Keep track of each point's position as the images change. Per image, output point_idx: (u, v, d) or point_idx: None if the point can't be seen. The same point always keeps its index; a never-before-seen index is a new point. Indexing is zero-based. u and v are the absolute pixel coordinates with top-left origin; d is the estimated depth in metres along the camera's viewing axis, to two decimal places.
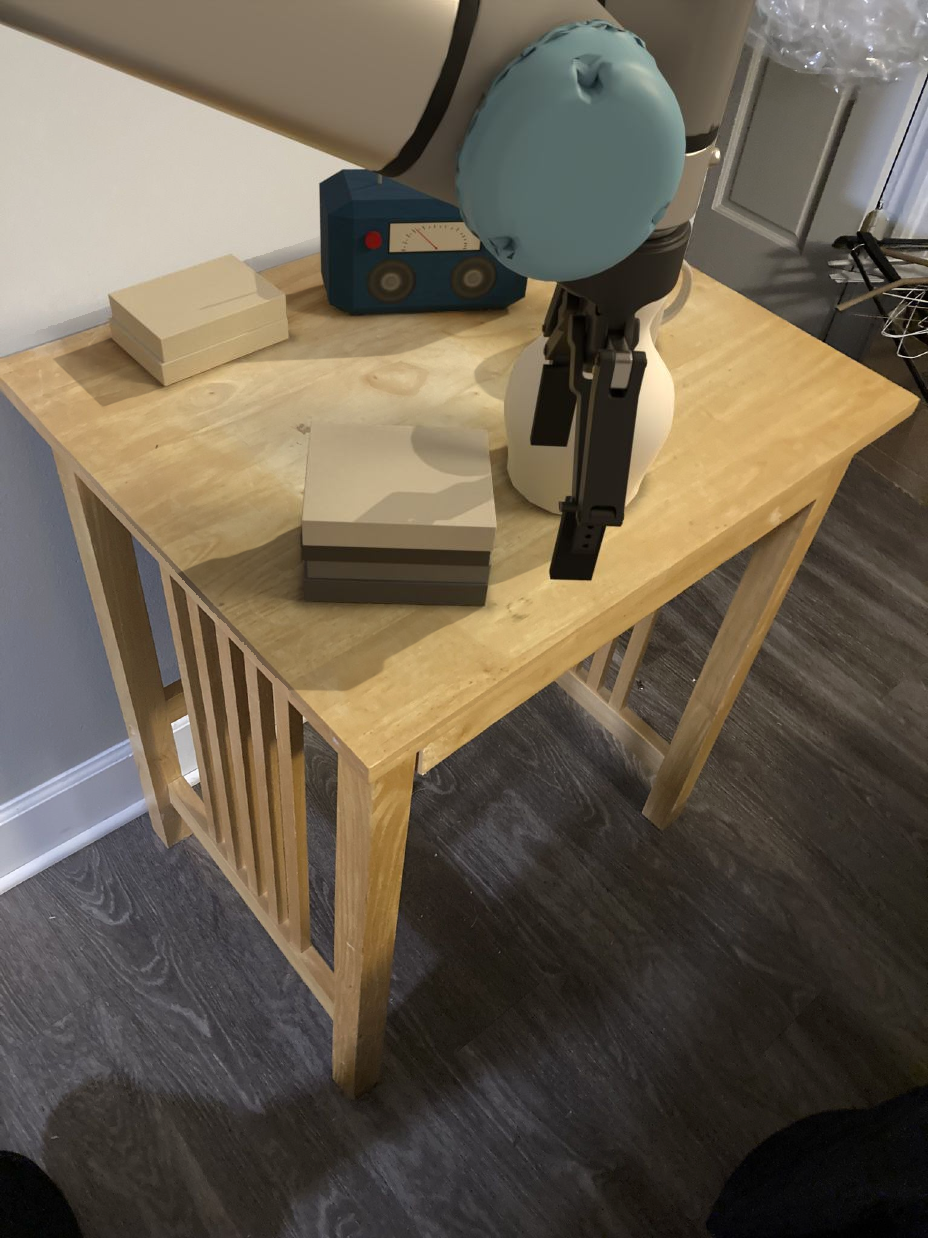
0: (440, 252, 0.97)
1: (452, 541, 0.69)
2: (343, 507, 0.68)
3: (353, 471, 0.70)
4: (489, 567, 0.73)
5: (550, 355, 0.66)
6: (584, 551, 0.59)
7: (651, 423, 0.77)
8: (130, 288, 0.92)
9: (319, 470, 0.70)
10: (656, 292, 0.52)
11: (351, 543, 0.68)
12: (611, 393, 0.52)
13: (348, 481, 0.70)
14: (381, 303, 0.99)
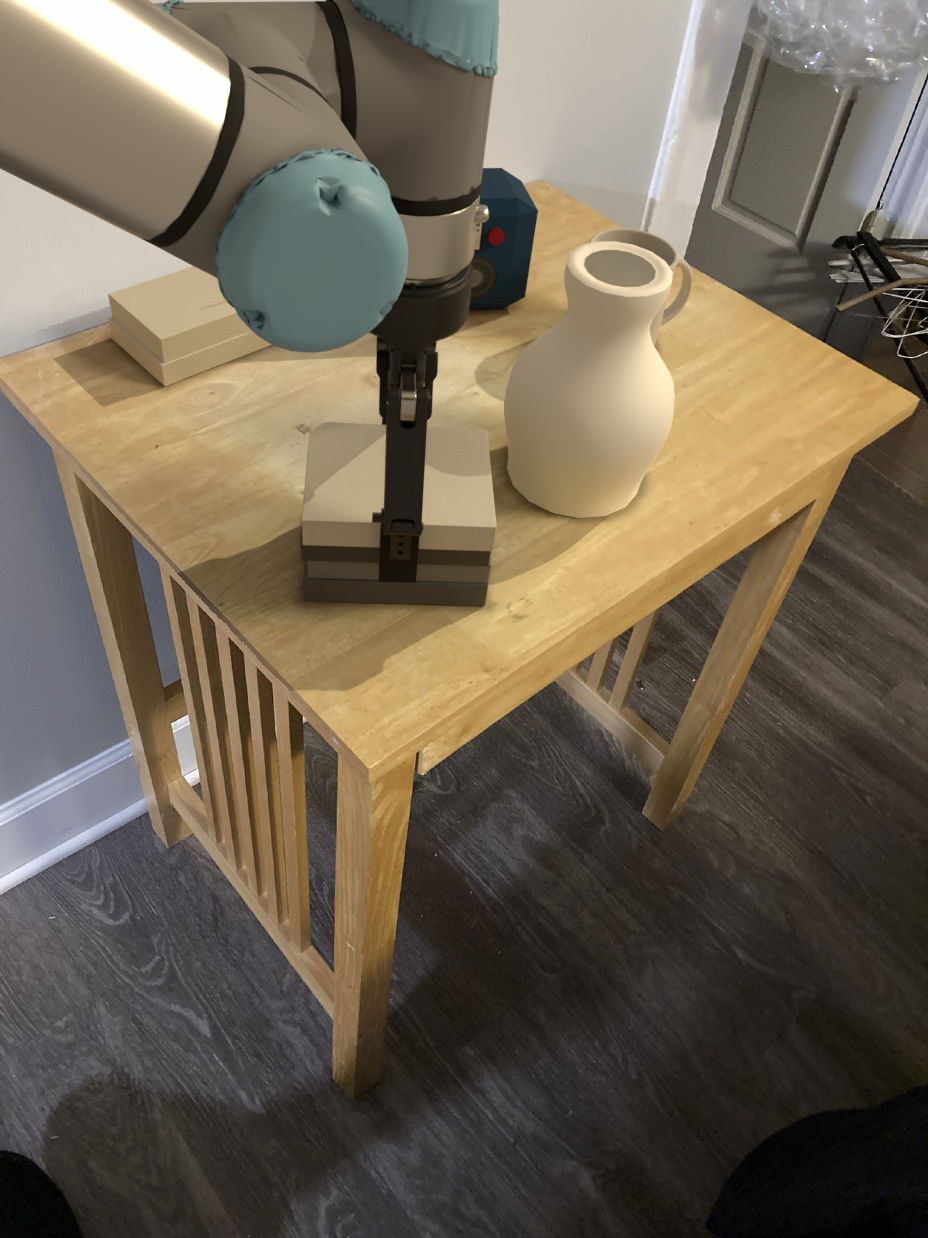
0: None
1: (452, 541, 0.69)
2: (343, 507, 0.68)
3: (353, 471, 0.70)
4: (489, 567, 0.73)
5: None
6: (400, 557, 0.67)
7: (651, 423, 0.77)
8: (130, 288, 0.92)
9: (319, 470, 0.70)
10: (441, 331, 0.58)
11: (351, 543, 0.68)
12: (404, 424, 0.60)
13: (348, 481, 0.70)
14: None
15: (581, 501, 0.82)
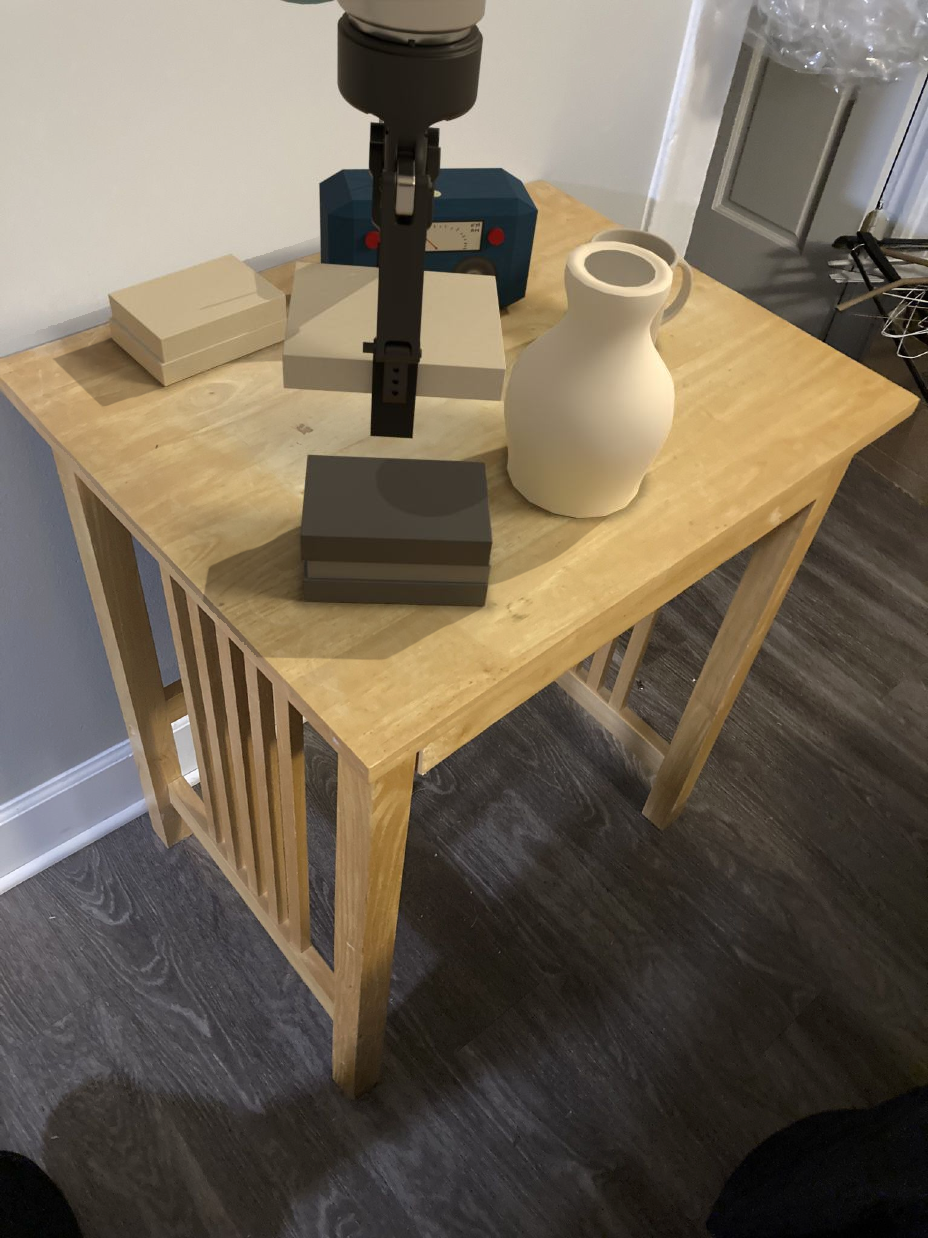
0: (440, 252, 0.97)
1: (455, 386, 0.60)
2: (330, 343, 0.59)
3: (342, 310, 0.62)
4: (489, 567, 0.73)
5: None
6: (395, 399, 0.58)
7: (651, 423, 0.77)
8: (130, 288, 0.92)
9: (304, 307, 0.61)
10: (444, 108, 0.50)
11: (339, 387, 0.60)
12: (400, 220, 0.51)
13: (337, 319, 0.61)
14: None
15: (581, 501, 0.82)
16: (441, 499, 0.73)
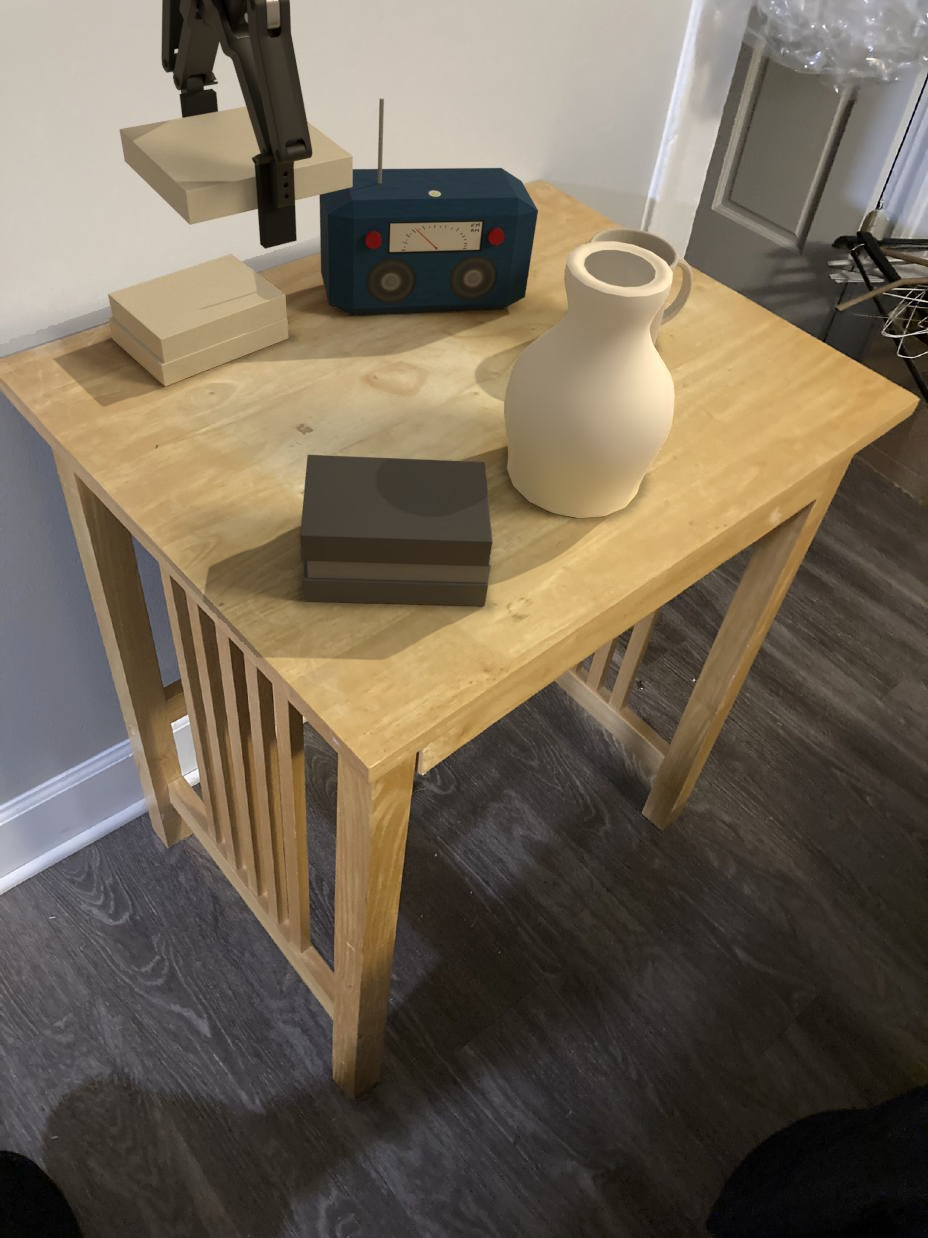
0: (440, 252, 0.97)
1: (318, 183, 0.73)
2: (212, 174, 0.69)
3: (195, 151, 0.71)
4: (489, 567, 0.73)
5: (183, 79, 0.73)
6: (286, 202, 0.70)
7: (651, 423, 0.77)
8: (130, 288, 0.92)
9: (164, 157, 0.70)
10: None
11: (233, 210, 0.70)
12: (269, 34, 0.62)
13: (199, 158, 0.70)
14: (381, 303, 0.99)
15: (581, 501, 0.82)
16: (441, 499, 0.73)
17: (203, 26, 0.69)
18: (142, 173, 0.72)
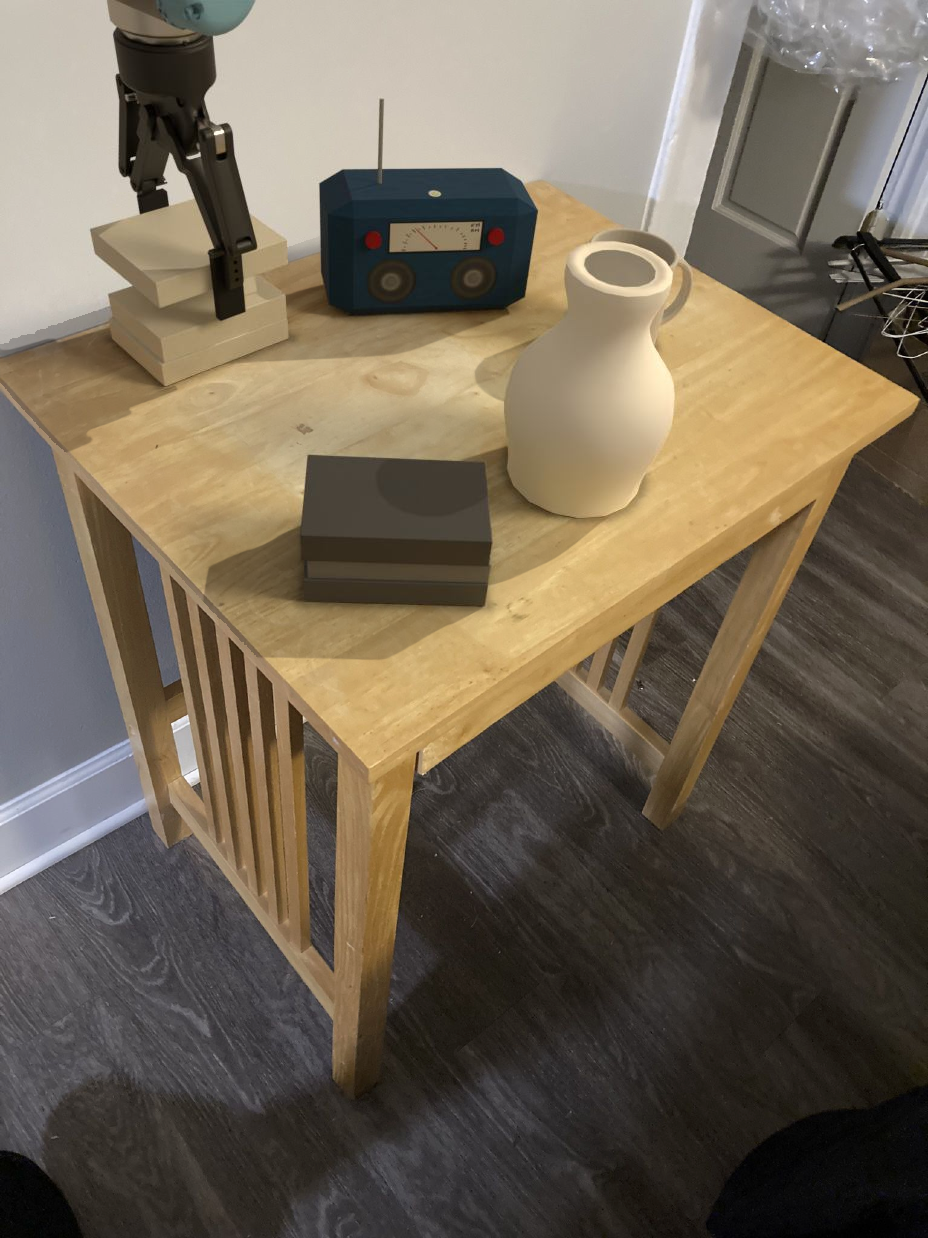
0: (440, 252, 0.97)
1: (260, 264, 0.88)
2: (175, 265, 0.84)
3: (157, 245, 0.86)
4: (489, 567, 0.73)
5: (139, 183, 0.88)
6: (237, 284, 0.85)
7: (651, 423, 0.77)
8: (130, 288, 0.92)
9: (132, 252, 0.85)
10: (211, 78, 0.77)
11: (193, 292, 0.85)
12: (217, 158, 0.78)
13: (161, 251, 0.85)
14: (381, 303, 0.99)
15: (581, 501, 0.82)
16: (441, 499, 0.73)
17: (157, 145, 0.83)
18: (112, 265, 0.87)
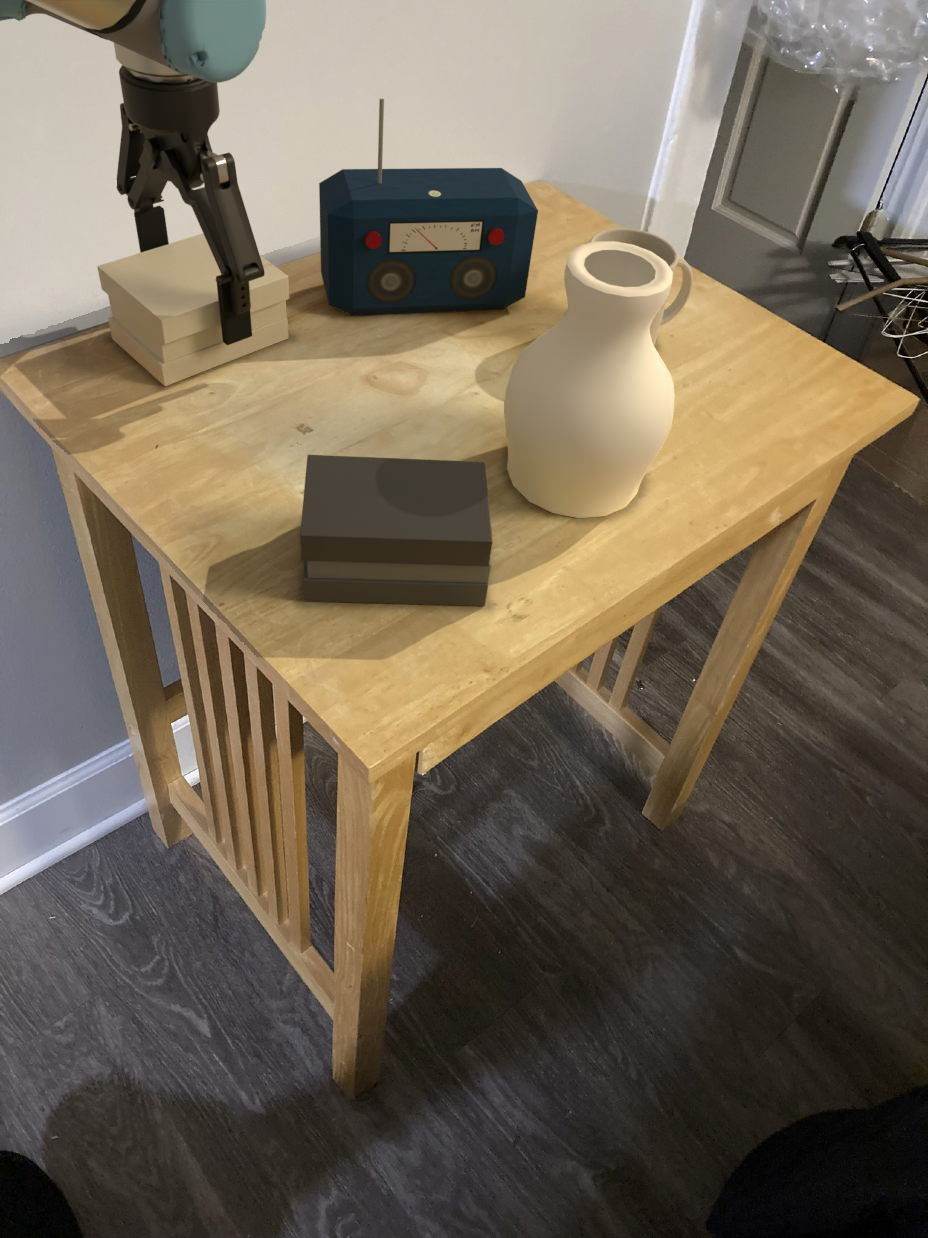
0: (440, 252, 0.97)
1: (263, 299, 0.91)
2: (180, 303, 0.87)
3: (162, 282, 0.88)
4: (489, 567, 0.73)
5: (137, 203, 0.90)
6: (244, 309, 0.86)
7: (651, 423, 0.77)
8: None
9: (138, 290, 0.87)
10: (214, 114, 0.79)
11: (197, 328, 0.88)
12: (220, 187, 0.79)
13: (166, 288, 0.88)
14: (381, 303, 0.99)
15: (581, 501, 0.82)
16: (441, 499, 0.73)
17: (158, 172, 0.85)
18: (119, 301, 0.89)
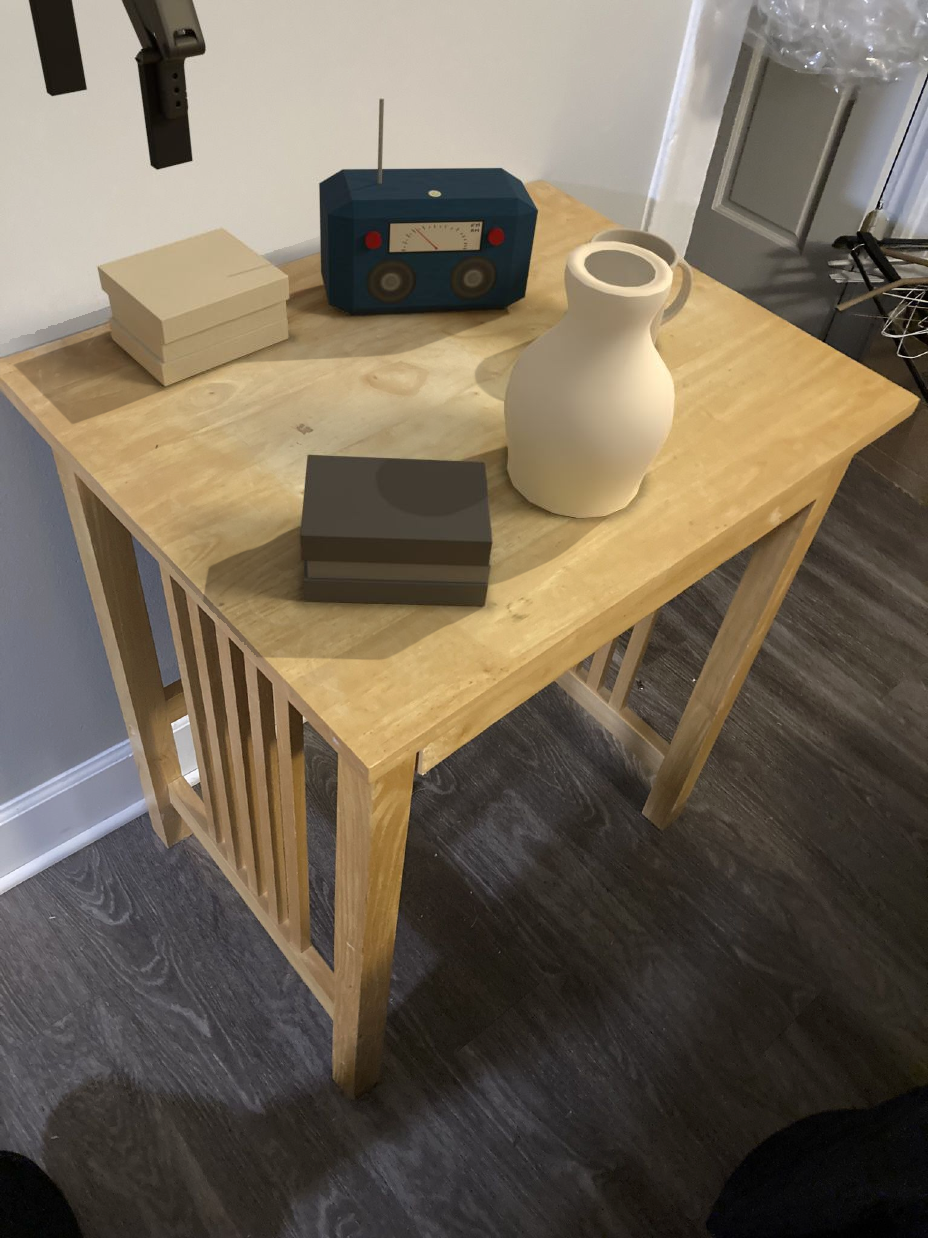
0: (440, 252, 0.97)
1: (263, 299, 0.91)
2: (180, 303, 0.87)
3: (162, 282, 0.88)
4: (489, 567, 0.73)
5: None
6: (178, 112, 0.61)
7: (651, 423, 0.77)
8: None
9: (138, 290, 0.87)
10: None
11: (197, 328, 0.88)
12: None
13: (166, 288, 0.88)
14: (381, 303, 0.99)
15: (581, 501, 0.82)
16: (441, 499, 0.73)
17: None
18: (119, 301, 0.89)
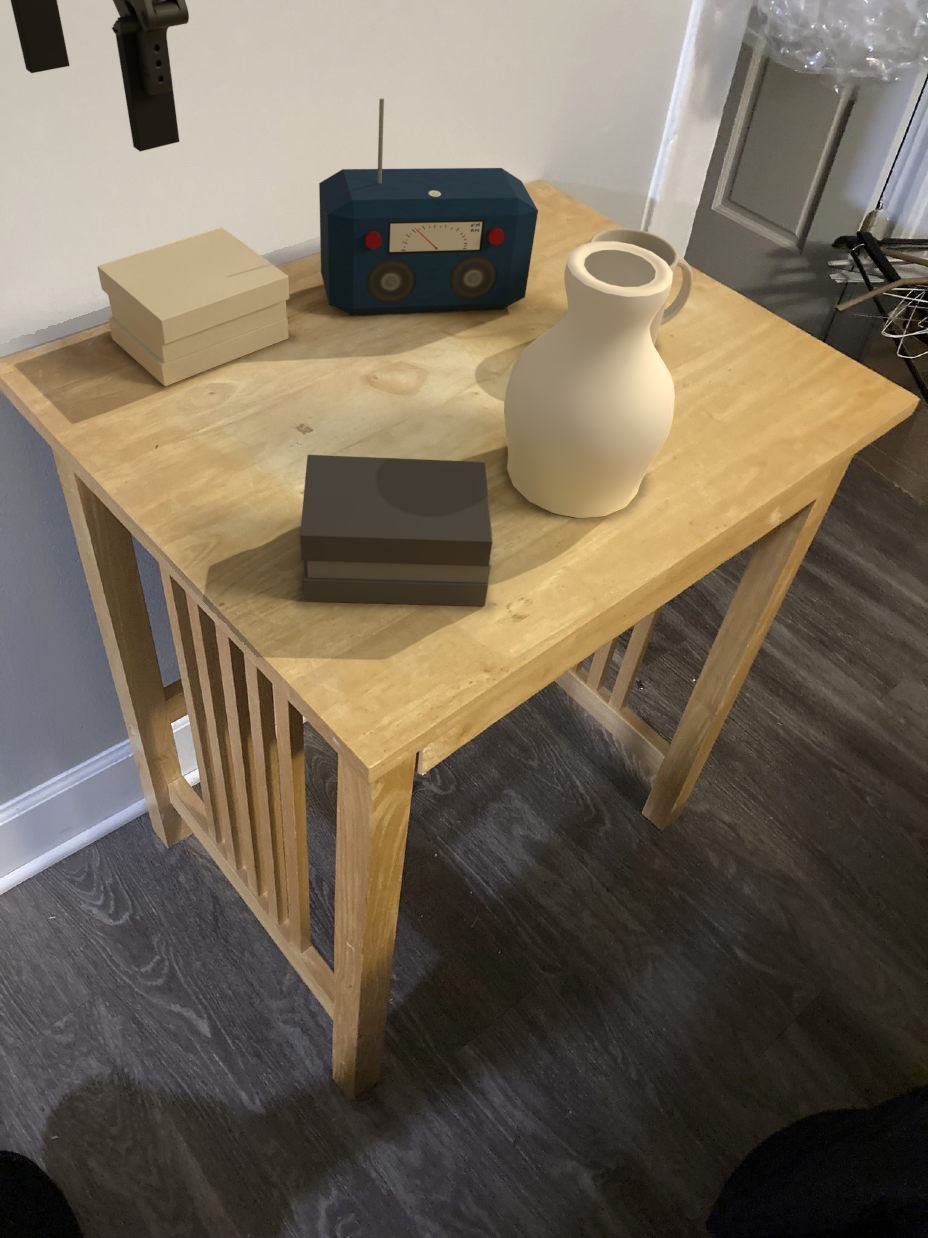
0: (440, 252, 0.97)
1: (263, 299, 0.91)
2: (180, 303, 0.87)
3: (162, 282, 0.88)
4: (489, 567, 0.73)
5: None
6: (162, 87, 0.56)
7: (651, 423, 0.77)
8: None
9: (138, 290, 0.87)
10: None
11: (197, 328, 0.88)
12: None
13: (166, 288, 0.88)
14: (381, 303, 0.99)
15: (581, 501, 0.82)
16: (441, 499, 0.73)
17: None
18: (119, 301, 0.89)
